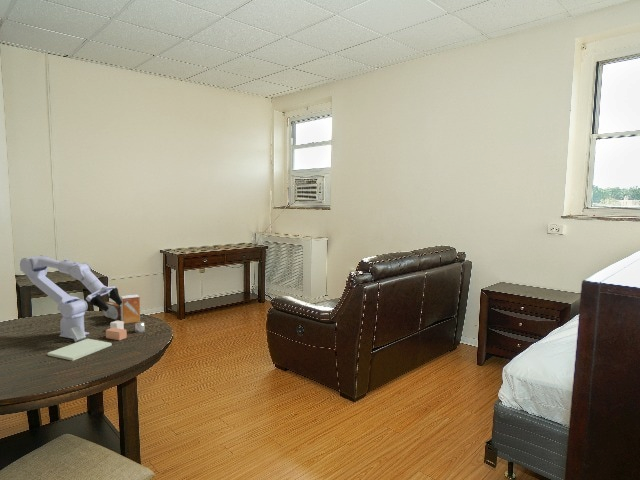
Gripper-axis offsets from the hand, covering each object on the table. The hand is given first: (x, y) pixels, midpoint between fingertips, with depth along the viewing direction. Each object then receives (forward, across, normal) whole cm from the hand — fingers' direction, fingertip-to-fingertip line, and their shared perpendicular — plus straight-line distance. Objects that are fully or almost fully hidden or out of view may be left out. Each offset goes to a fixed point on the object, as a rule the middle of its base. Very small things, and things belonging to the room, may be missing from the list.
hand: (114, 306), depth 181 cm
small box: (+1, +22, +22) cm, 32 cm away
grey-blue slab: (-4, -7, +19) cm, 21 cm away
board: (+6, -16, +12) cm, 21 cm away
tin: (-8, +23, +30) cm, 39 cm away
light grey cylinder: (+12, +12, +11) cm, 20 cm away
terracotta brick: (+9, +1, +13) cm, 15 cm away
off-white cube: (+4, +9, +18) cm, 21 cm away
